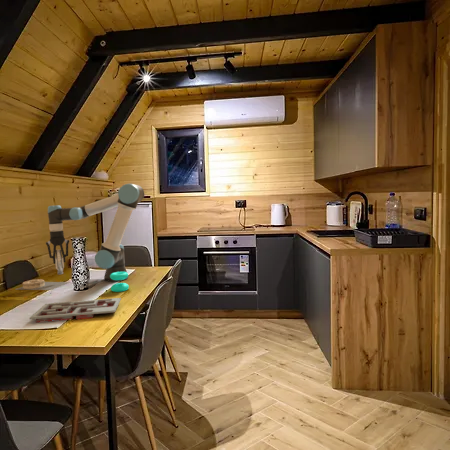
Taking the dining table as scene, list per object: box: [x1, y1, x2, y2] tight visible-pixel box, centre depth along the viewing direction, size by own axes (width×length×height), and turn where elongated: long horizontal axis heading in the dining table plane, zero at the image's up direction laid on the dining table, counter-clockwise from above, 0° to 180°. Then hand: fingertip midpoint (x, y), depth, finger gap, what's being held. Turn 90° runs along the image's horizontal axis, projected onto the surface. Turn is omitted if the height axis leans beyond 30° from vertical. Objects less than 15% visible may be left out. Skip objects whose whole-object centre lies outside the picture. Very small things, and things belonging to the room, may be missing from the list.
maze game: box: [28, 297, 122, 323], centre depth 157 cm, size 35×20×3 cm, turn 99°
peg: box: [55, 249, 64, 275], centre depth 210 cm, size 3×3×15 cm
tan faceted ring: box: [22, 278, 45, 289], centre depth 205 cm, size 11×11×3 cm
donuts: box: [110, 271, 130, 293], centre depth 195 cm, size 10×10×10 cm
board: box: [14, 281, 71, 291], centre depth 206 cm, size 24×18×2 cm
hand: (60, 268), depth 210 cm, fingers closed on peg, 3 cm apart
